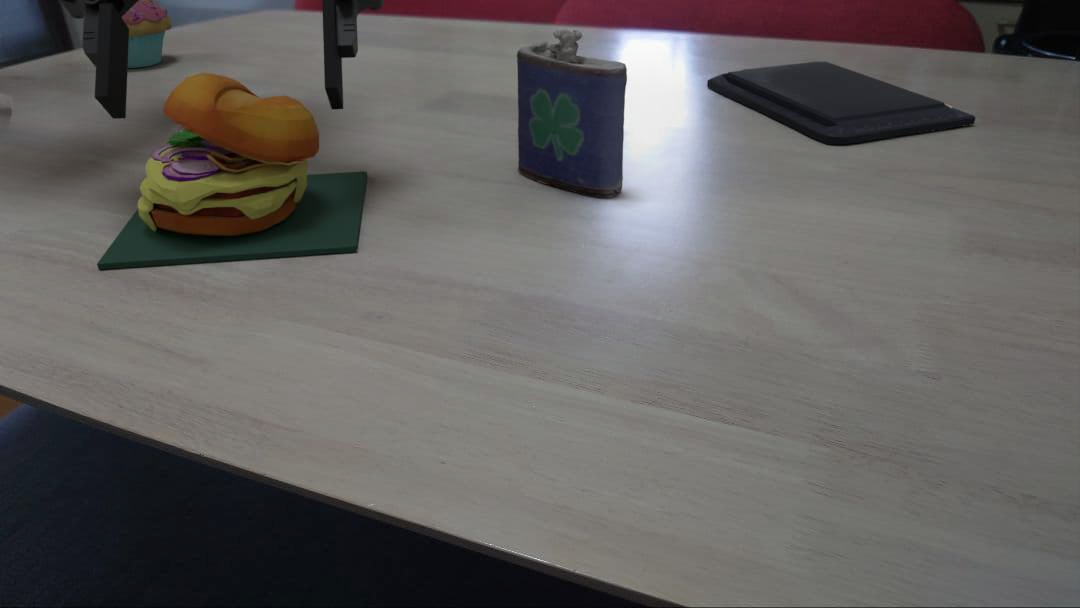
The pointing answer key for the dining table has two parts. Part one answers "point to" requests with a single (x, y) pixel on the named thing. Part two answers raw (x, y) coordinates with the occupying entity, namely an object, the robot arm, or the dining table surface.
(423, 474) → the dining table surface
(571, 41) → the flask
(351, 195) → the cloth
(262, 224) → the cheeseburger
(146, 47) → the cupcake
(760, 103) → the wallet
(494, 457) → the dining table surface
